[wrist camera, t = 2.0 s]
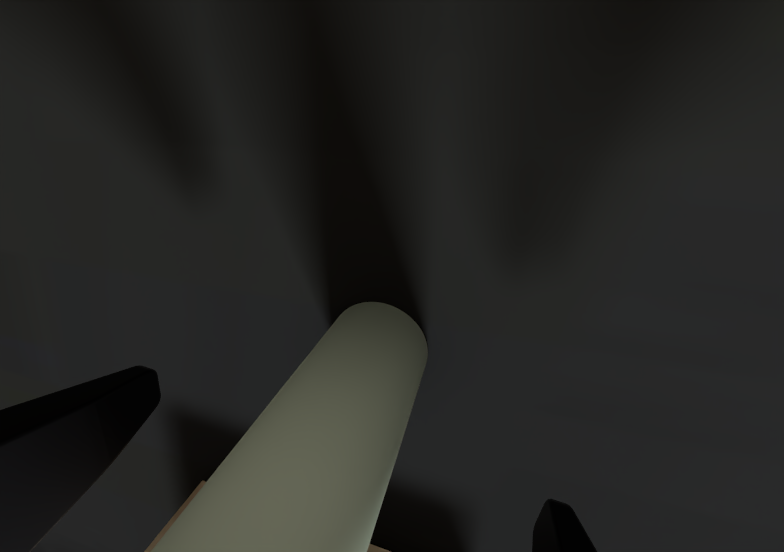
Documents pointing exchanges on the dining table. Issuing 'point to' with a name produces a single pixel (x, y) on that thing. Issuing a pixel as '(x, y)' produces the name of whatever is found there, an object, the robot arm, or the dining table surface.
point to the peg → (316, 447)
